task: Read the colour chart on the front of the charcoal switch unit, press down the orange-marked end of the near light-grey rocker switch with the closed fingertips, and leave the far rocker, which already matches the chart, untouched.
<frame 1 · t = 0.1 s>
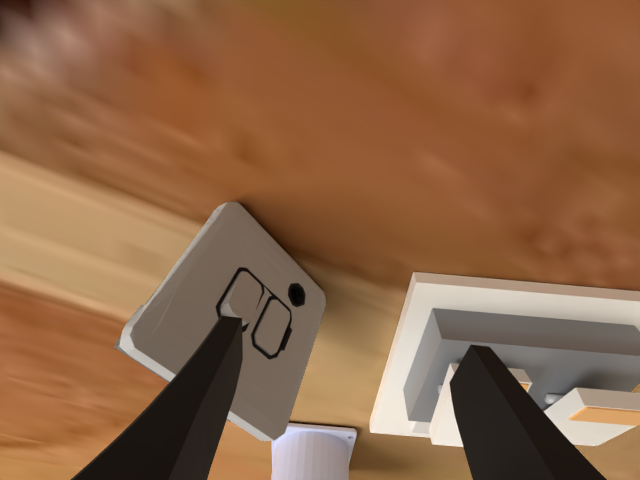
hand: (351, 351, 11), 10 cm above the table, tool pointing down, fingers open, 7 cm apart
switch unit: (489, 369, 27), on the table
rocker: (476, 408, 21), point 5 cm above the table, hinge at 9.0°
electrical switch: (256, 267, 23), on the table
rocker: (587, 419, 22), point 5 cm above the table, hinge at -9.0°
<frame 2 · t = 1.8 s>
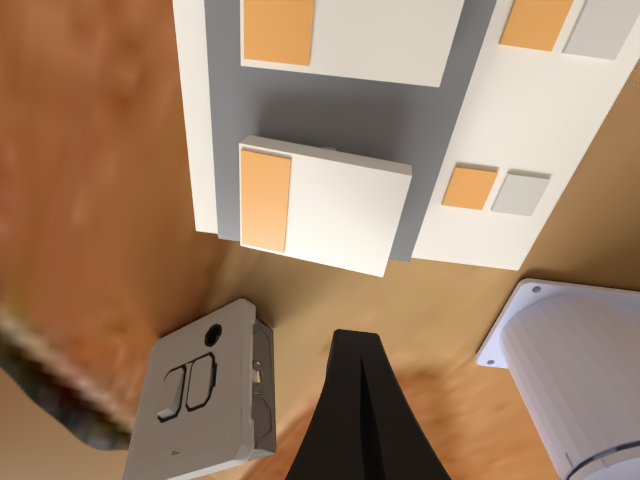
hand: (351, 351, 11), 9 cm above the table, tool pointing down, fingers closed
switch unit: (390, 94, 16), on the table
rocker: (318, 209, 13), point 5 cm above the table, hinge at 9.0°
electrical switch: (226, 335, 26), on the table
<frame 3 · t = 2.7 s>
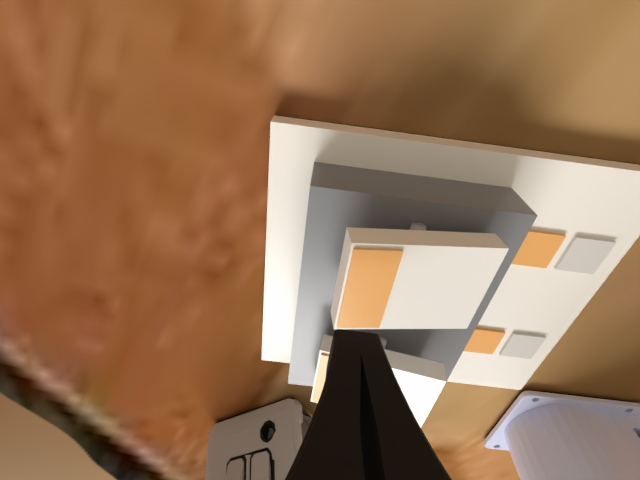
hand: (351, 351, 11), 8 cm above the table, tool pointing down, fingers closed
switch unit: (422, 277, 20), on the table
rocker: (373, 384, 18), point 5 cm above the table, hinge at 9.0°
electrical switch: (272, 420, 30), on the table
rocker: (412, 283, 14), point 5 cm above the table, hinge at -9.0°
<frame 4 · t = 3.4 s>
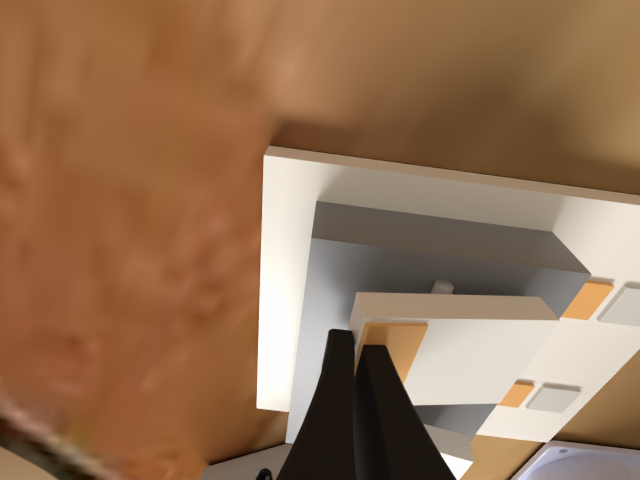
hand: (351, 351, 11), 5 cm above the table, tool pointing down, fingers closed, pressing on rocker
switch unit: (440, 323, 18), on the table
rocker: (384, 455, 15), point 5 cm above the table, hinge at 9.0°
electrical switch: (270, 463, 28), on the table
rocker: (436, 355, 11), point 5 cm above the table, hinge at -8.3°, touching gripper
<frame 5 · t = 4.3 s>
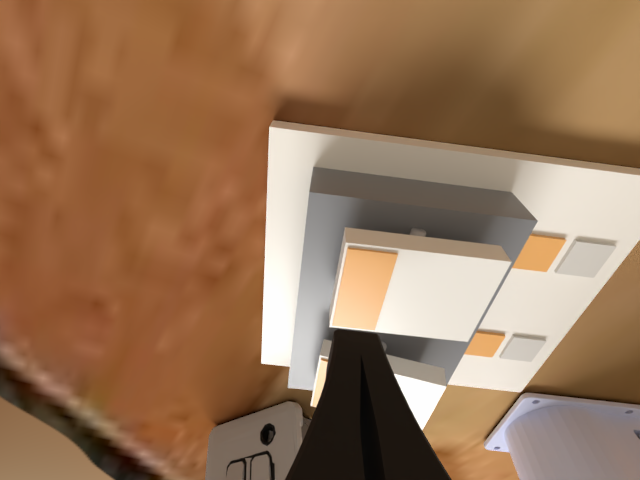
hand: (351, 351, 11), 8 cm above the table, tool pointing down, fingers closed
switch unit: (422, 280, 20), on the table
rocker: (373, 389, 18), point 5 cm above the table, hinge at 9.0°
electrical switch: (273, 423, 30), on the table
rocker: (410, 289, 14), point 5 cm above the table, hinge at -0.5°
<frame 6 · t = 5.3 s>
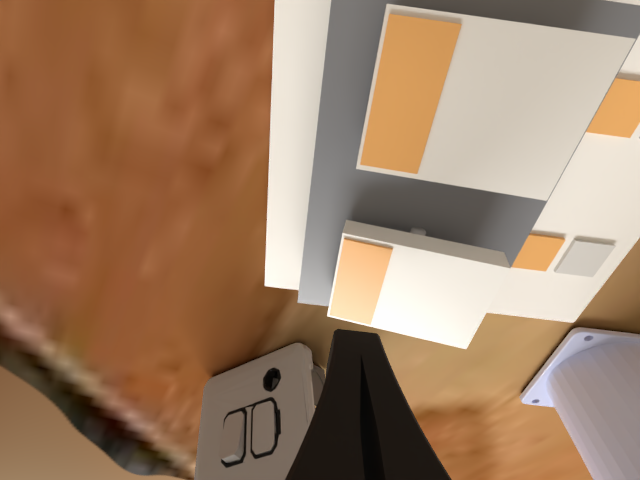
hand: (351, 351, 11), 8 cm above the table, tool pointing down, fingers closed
switch unit: (465, 167, 16), on the table
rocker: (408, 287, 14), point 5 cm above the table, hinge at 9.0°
electrical switch: (277, 374, 26), on the table
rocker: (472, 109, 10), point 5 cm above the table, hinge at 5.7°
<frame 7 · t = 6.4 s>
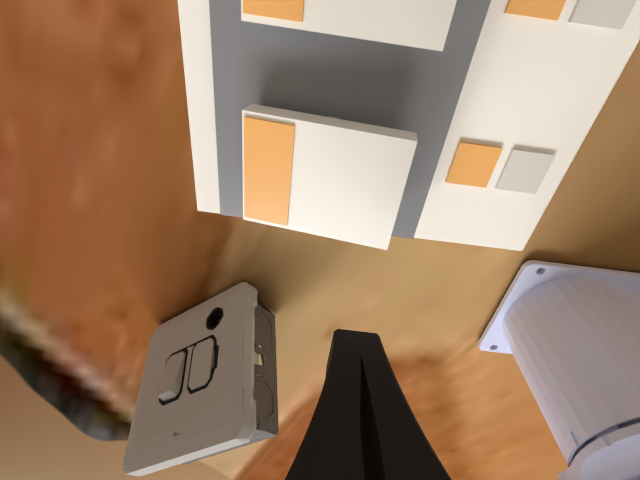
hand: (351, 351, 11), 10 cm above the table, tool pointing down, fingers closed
switch unit: (394, 68, 15), on the table
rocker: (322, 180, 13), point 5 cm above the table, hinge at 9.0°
electrical switch: (228, 321, 25), on the table
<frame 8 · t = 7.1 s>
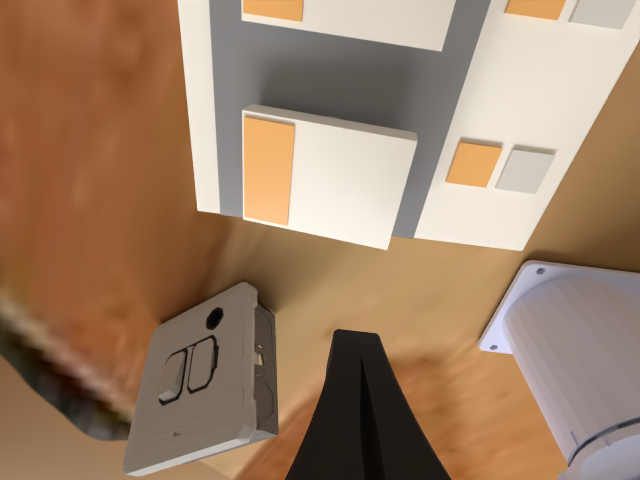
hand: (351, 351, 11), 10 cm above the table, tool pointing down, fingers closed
switch unit: (394, 68, 15), on the table
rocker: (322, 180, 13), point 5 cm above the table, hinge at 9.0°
electrical switch: (228, 321, 25), on the table
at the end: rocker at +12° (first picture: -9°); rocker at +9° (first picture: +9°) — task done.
